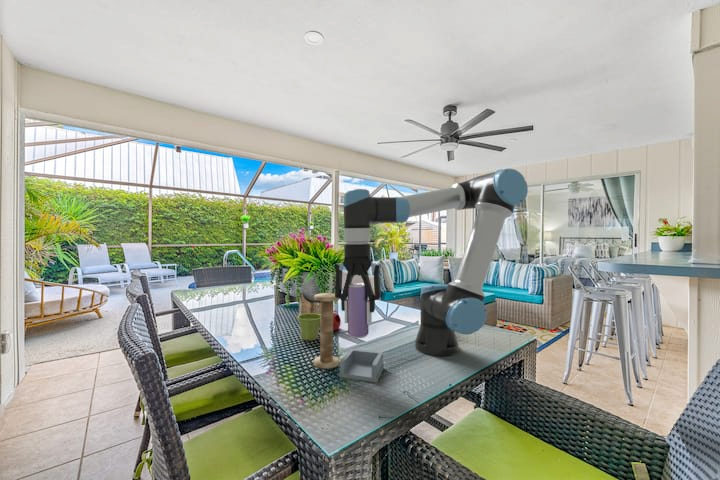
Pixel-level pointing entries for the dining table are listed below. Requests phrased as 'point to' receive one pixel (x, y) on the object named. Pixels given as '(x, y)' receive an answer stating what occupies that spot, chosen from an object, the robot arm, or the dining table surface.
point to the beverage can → (357, 310)
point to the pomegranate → (336, 321)
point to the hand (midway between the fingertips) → (358, 322)
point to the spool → (326, 332)
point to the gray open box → (362, 365)
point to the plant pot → (309, 326)
